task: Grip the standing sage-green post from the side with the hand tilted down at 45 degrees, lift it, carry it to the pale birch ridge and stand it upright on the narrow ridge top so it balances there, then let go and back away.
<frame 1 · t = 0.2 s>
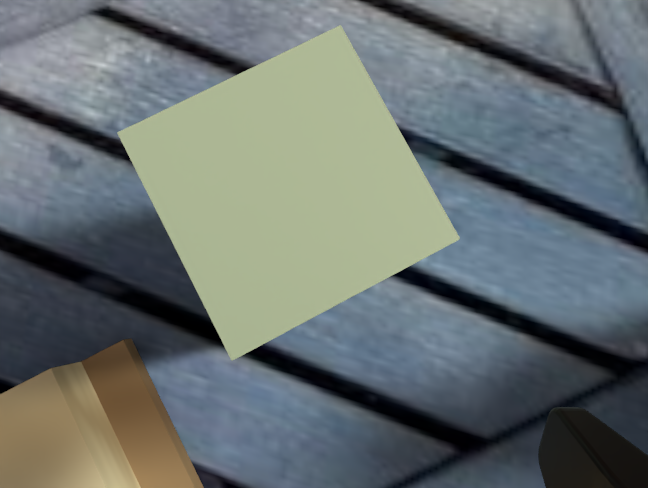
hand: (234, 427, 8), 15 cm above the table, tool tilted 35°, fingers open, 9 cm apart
sage post: (296, 252, 23), on the table
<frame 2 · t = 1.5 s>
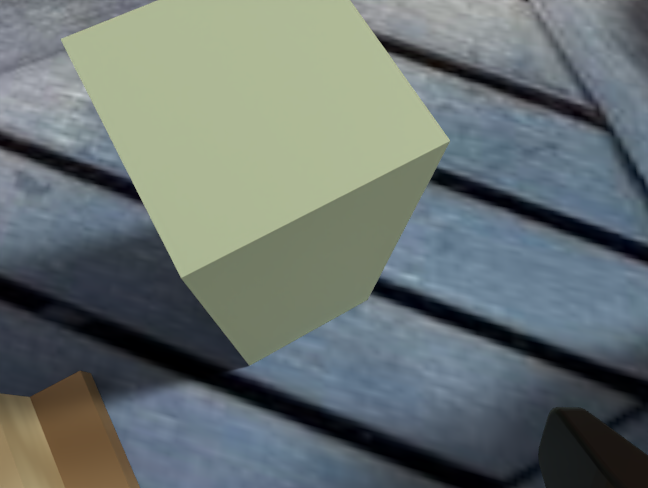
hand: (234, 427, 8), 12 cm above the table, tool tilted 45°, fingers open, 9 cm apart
sage post: (278, 274, 21), on the table
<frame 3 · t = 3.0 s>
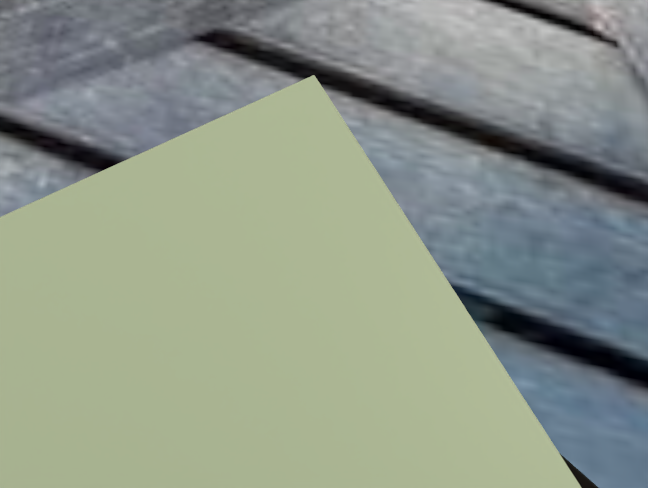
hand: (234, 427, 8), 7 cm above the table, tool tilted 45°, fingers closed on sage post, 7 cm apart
sage post: (262, 485, 14), on the table, touching gripper
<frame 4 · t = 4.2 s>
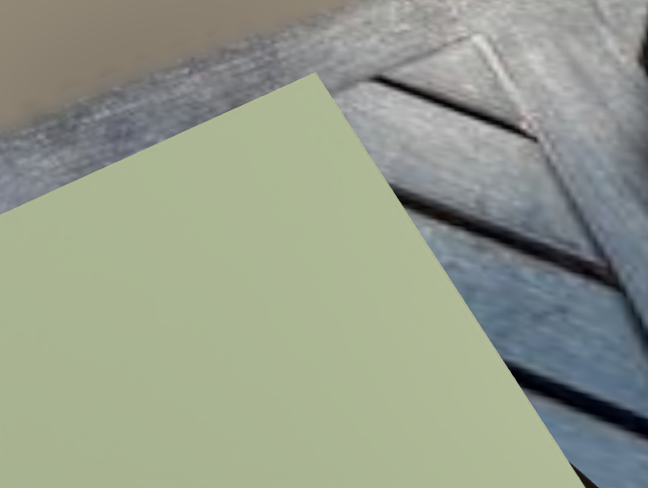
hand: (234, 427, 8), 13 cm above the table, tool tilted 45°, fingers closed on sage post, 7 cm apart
sage post: (263, 484, 14), point 7 cm above the table, touching gripper
when the fingers open (11 cm above the table, at t = 5.9 s): sage post drops 1 cm, resting on birch ridge.
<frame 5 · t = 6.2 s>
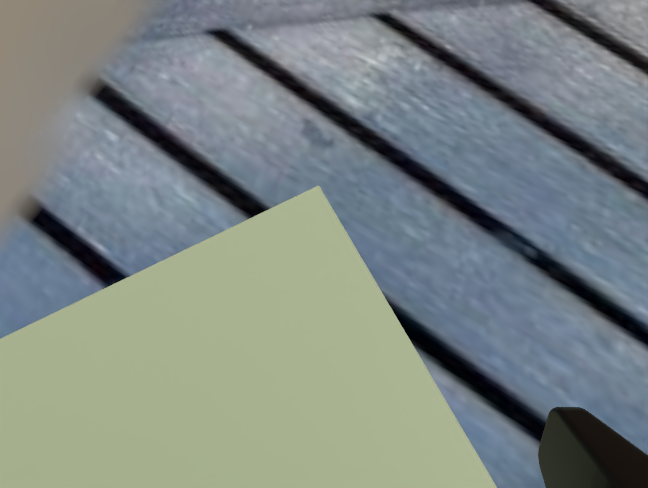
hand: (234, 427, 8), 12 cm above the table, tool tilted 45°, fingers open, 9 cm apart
sage post: (264, 482, 15), point 4 cm above the table, touching birch ridge
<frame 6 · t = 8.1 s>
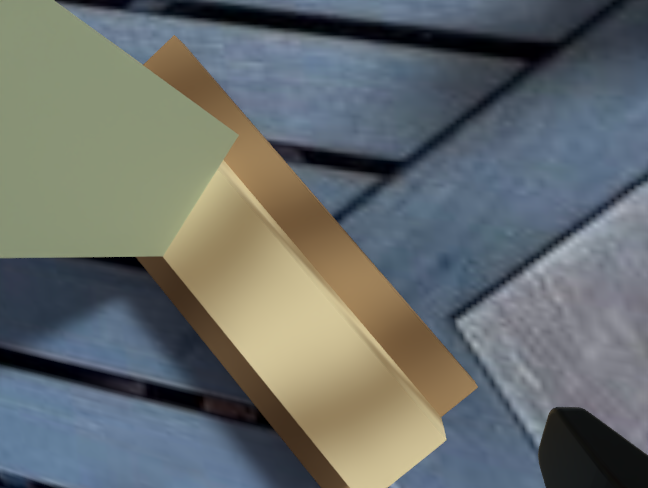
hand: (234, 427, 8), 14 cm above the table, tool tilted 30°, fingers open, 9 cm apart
sage post: (144, 158, 19), point 3 cm above the table, touching birch ridge
birch ridge: (258, 262, 22), on the table
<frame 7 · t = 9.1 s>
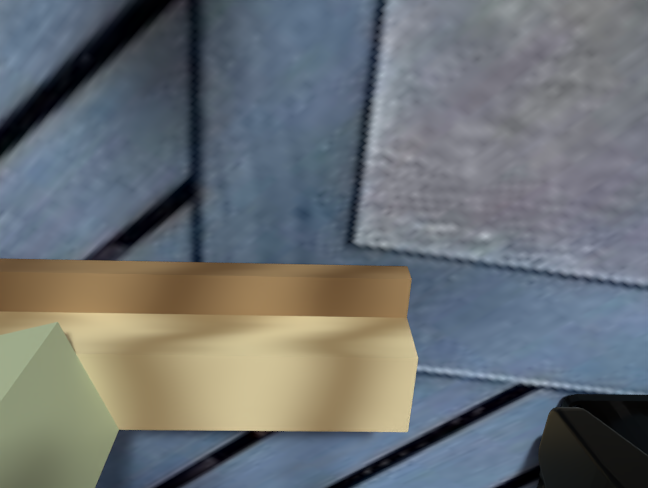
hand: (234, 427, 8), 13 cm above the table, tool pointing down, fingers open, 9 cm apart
sage post: (24, 393, 19), point 3 cm above the table, touching birch ridge
birch ridge: (184, 335, 23), on the table
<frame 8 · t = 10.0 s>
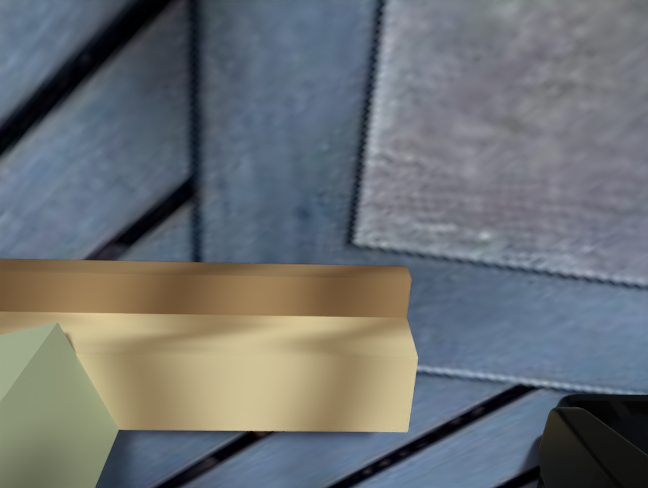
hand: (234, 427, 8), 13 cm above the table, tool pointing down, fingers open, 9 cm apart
sage post: (24, 393, 19), point 3 cm above the table, touching birch ridge
birch ridge: (184, 335, 23), on the table
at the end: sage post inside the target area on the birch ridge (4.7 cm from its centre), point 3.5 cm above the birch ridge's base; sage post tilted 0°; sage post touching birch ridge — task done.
